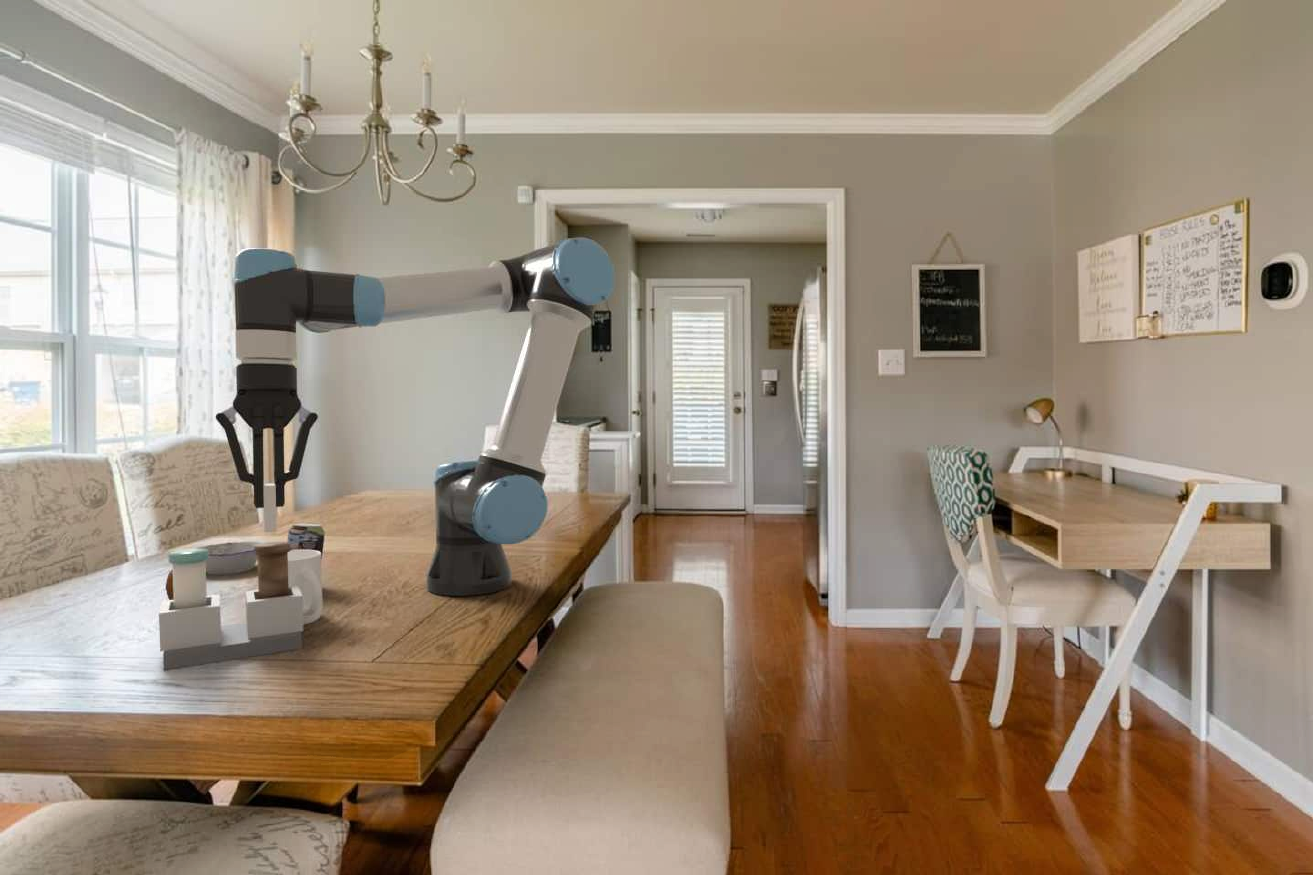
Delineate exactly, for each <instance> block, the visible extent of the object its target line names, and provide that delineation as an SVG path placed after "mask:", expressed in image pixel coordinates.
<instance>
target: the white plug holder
mask: <svg viewBox="0 0 1313 875" xmlns="http://www.w3.org/2000/svg"><path fill="white" fill-rule="evenodd" d="M220 595H221V594H220V593H218V594H209V595H207V606H201V607H193V608H185V609H177V610H174V600H169V599H168V600H162V601H161V604H160V608H159V611H158V623H159V626H158V627H159V629H158V630H159V650H160V652H163V654H162V658H163V659H162V660H163V671H166V670H173V669H179V668H186V667H192V666H197V665H198V666H200V665H204V664H211V663H217V662H224V661H231V660H236V659H237V660H238V659H243V658H244V659H245V658H249V657H255V656H263V655H269V654H275V653H281V652H289V651H295V650H301V649H302V648H303V647H302V646H303V645H302V633H301V632H304V625H303V603H302V594H301V592H300V589H299V587H298V585H295V586H289V596H283V597H275V598H267V599H259V590H258V589H254V590H252V589H251V590H246V591H245V614H246V615H245V617H246V618H245V619H246V622H239V623H233V624H228V625H227V624H226V625H225V624H224V625H222V623H221V617H222V616H221V599H220V598H221V596H220Z"/></svg>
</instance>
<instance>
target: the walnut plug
mask: <svg viewBox="0 0 1313 875" xmlns="http://www.w3.org/2000/svg"><path fill="white" fill-rule="evenodd" d="M260 543H261V544H257V545H255V546H254V554H256V555H257V556H258V559H257V583H258V585H257V586H258V589H257V590H259V599H267V598H275V597H283V596H289V586H288V552H289V551H291V545H290V543H289V542H287V541H269V542H260Z"/></svg>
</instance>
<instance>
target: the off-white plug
mask: <svg viewBox="0 0 1313 875" xmlns="http://www.w3.org/2000/svg"><path fill="white" fill-rule="evenodd" d="M167 555H168V557H167V558H168V563H169V564H171V566H172V568H171V570H173V598H174V610H177V609H185V608H193V607H201V606H207V596H208V594H207V593H208V592H207V572H206V561H205V560H207V559H208V558H209V550H207V549H196V548H191V549H190V548H189V549H180V550H176V551H172V552H169V553H168V554H167Z"/></svg>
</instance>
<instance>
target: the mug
mask: <svg viewBox="0 0 1313 875" xmlns="http://www.w3.org/2000/svg"><path fill="white" fill-rule="evenodd" d="M322 572H323V571H322V561H321V552H320V551H316V550H291V551H289V552H288V586H295V585H298V587H299V589H300V592H301V594H302V603H303V626H305V625H308V624H312V623H315V622H316V621H318V620H319V619H320V618H321V617H322V614H323V578H322V577H323V574H322Z"/></svg>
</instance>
